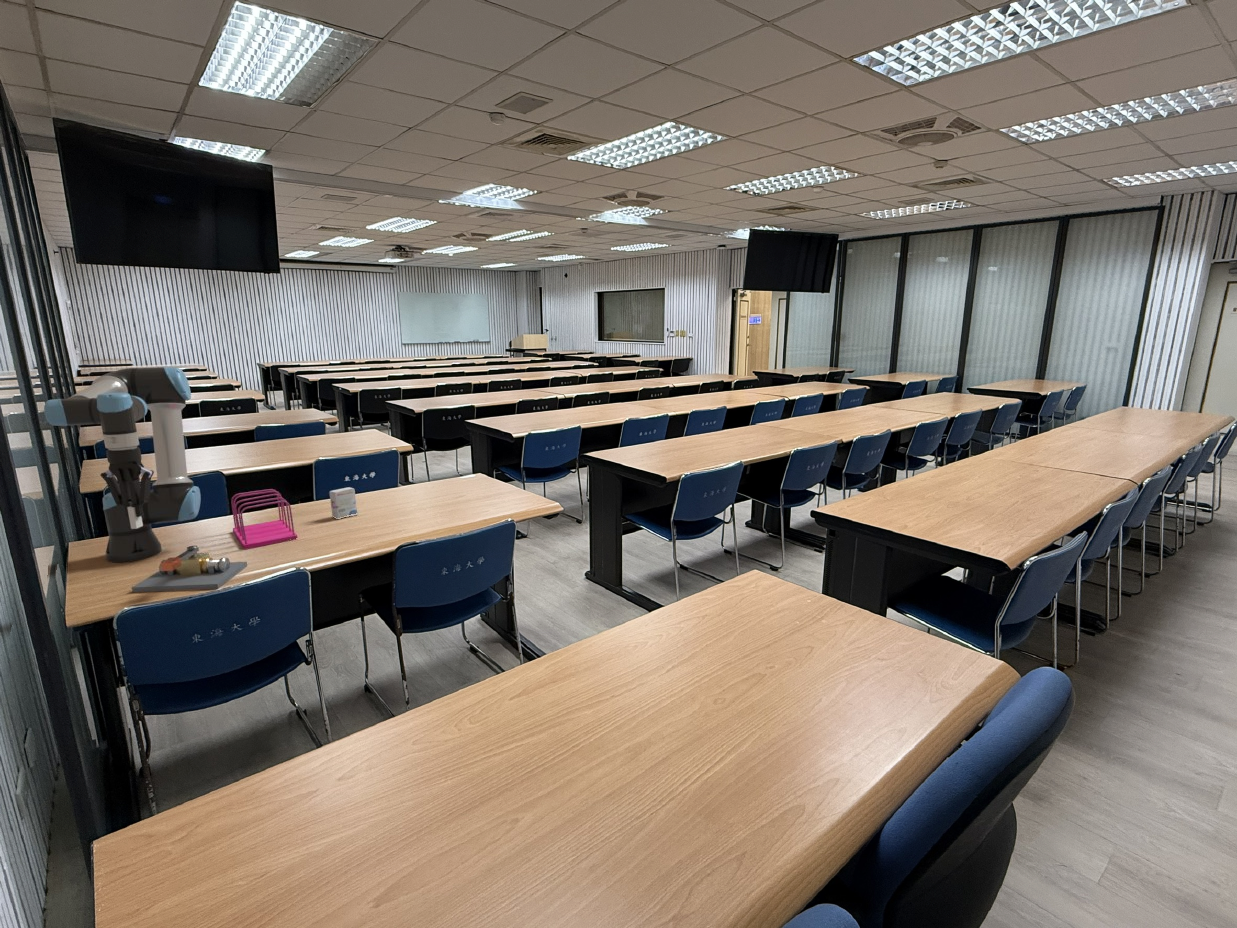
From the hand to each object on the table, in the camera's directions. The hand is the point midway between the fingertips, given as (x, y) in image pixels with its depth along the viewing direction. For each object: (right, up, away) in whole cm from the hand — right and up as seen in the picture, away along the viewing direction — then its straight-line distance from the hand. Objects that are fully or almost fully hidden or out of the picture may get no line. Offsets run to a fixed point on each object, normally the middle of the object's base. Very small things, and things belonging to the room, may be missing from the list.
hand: (137, 527), depth 176 cm
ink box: (+26, -4, +77) cm, 81 cm away
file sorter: (+6, -9, +54) cm, 55 cm away
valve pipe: (+6, -17, +16) cm, 24 cm away
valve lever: (+7, -12, +9) cm, 16 cm away
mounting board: (+6, -18, +14) cm, 23 cm away
